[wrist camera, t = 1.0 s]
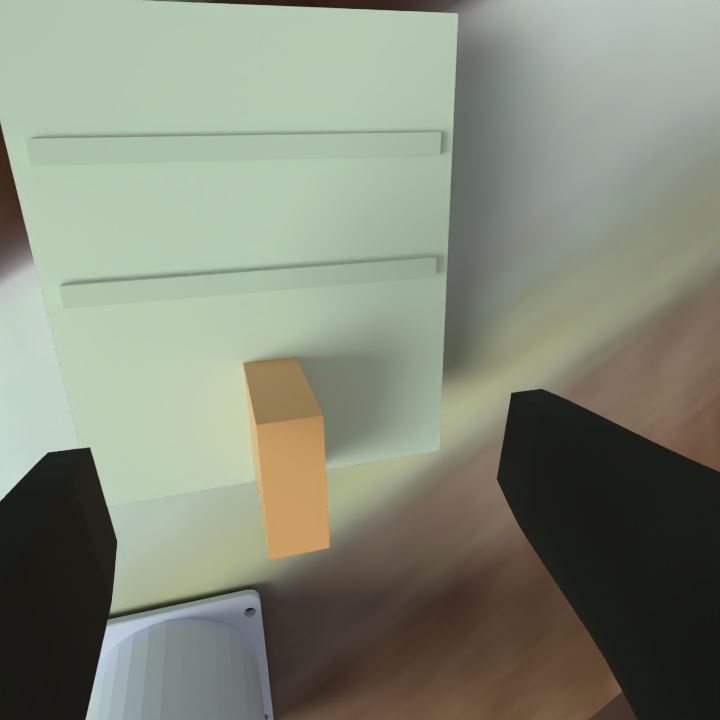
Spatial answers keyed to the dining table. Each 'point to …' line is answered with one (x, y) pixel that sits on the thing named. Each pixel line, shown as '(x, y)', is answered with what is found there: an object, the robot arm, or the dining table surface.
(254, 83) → the lid
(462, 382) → the dining table surface
